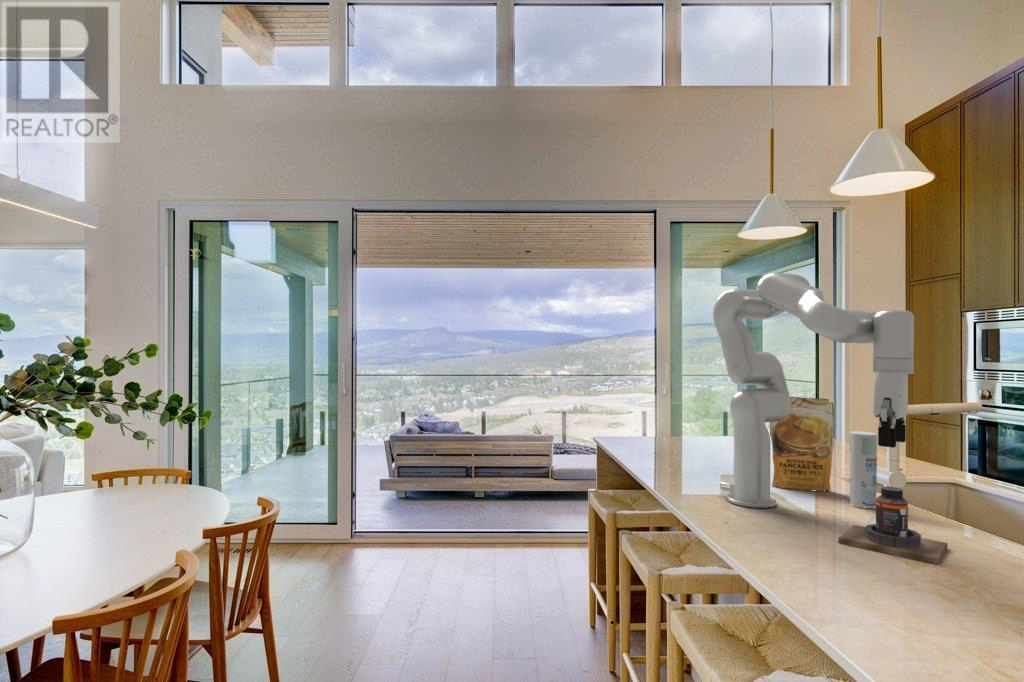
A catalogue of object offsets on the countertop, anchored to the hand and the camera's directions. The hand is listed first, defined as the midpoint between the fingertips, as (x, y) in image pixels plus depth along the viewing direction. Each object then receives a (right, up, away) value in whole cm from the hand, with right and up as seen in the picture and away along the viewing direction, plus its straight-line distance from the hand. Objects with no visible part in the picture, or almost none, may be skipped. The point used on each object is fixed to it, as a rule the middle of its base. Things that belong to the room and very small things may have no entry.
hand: (892, 444), depth 129 cm
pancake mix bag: (+5, -23, +52) cm, 57 cm away
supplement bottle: (0, -21, 0) cm, 21 cm away
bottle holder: (0, -22, 0) cm, 22 cm away
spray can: (+13, -23, +32) cm, 41 cm away
